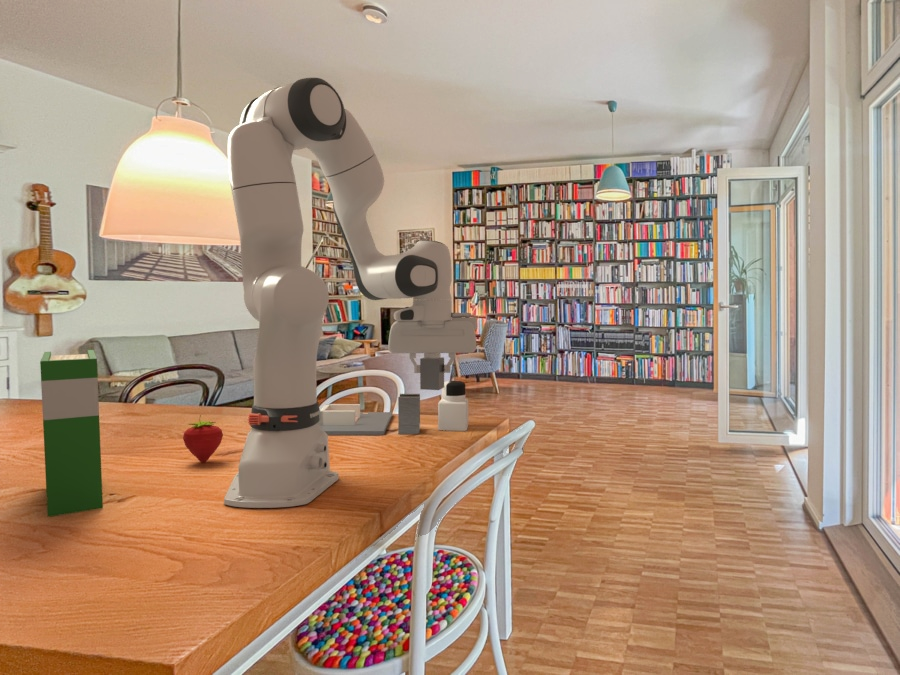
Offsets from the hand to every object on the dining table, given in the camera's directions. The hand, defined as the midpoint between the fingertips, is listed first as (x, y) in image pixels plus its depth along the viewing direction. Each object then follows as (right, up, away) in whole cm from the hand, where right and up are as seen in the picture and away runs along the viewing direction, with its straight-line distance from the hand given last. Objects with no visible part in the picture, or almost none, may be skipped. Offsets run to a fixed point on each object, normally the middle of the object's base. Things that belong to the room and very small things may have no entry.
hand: (432, 372), depth 142 cm
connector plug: (0, -4, 0) cm, 4 cm away
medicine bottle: (+5, -15, +15) cm, 22 cm away
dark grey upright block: (-6, -15, +11) cm, 20 cm away
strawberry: (-46, -17, -17) cm, 52 cm away
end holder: (-24, -15, +19) cm, 34 cm away
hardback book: (-59, -19, -38) cm, 73 cm away
